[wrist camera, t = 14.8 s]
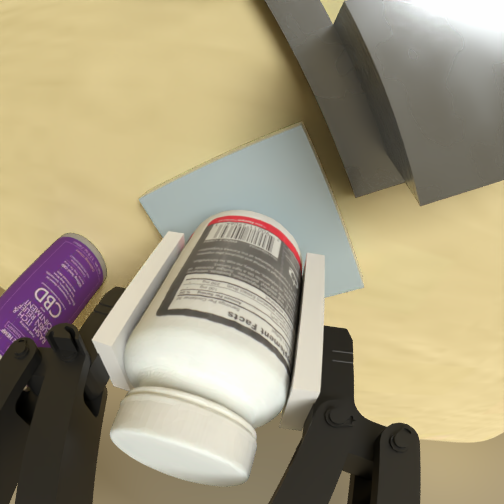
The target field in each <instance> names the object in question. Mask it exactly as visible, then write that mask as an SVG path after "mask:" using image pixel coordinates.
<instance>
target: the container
mask: <svg viewBox="0 0 504 504" xmlns="http://www.w3.org/2000/svg"><path fill="white" fill-rule="evenodd" d="M106 275H107V271H106V265H105V262H104V260H103V258H102V256H101V254H100V253H99V251H98V250H97V249H96V247H95V246H94V245H93V244H92V243H91V242H90V241H88V240H87V239H86V238H84V237H82V236H80V235H78V234H74V233H66V234H64V235H62V236H61V237H60V238H59V239H57V240H56V241H55V242H54V243H53V244H52V245H51V246H50V247H49V248H48V249H47V250H46V251H45V252H44V253H43V254H42V255H40V256H39V257H38V258H37V259H36V260H35V261H34V262H33V263H32V264H31V265H30V266H29V267H28V268H27V269H26V270H25V271H24V272H23V273H22V274H21V275H20V276H19V277H18V278H17V280H16V281H15V282H14V283H13V284H12V285H11V286H10V287H9V288H8V289H7V290H6V291H5V292H4V293H3V294H2V296H1V297H0V359H1V358H2V356H3V355H4V353H5V352H6V351H7V349H8V348H9V346H10V345H11V344H12V343H13V342H14V341H15V340H17V339H19V338H22V337H28V338H31V339H32V340H34V342H35V343H36V345H37V347H48V348H51V346H50V344H49V343H48V341H47V339H46V337H45V335H46V333H47V332H48V330H49V329H51V328H52V327H53V326H55V325H57V324H60V323H69V324H72V323H73V322H74V320H75V319H76V318H77V316H78V315H79V314H80V312H81V311H82V310H83V308H84V307H85V306H86V304H87V303H88V302H89V300H90V299H91V298H92V296H93V295H94V294H95V293H96V291H97V290H98V289H99V287H100V286H101V285H102V283H103V282H104V281H105V279H106ZM27 387H28V386H27V385H26V386H25V388H24V389H26V388H27Z"/></svg>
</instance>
